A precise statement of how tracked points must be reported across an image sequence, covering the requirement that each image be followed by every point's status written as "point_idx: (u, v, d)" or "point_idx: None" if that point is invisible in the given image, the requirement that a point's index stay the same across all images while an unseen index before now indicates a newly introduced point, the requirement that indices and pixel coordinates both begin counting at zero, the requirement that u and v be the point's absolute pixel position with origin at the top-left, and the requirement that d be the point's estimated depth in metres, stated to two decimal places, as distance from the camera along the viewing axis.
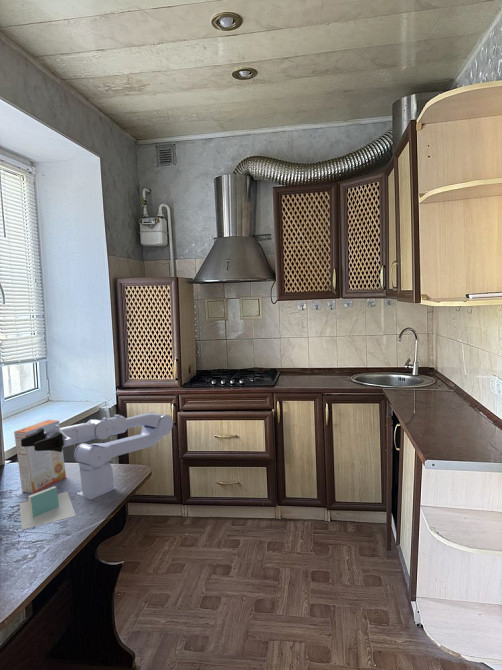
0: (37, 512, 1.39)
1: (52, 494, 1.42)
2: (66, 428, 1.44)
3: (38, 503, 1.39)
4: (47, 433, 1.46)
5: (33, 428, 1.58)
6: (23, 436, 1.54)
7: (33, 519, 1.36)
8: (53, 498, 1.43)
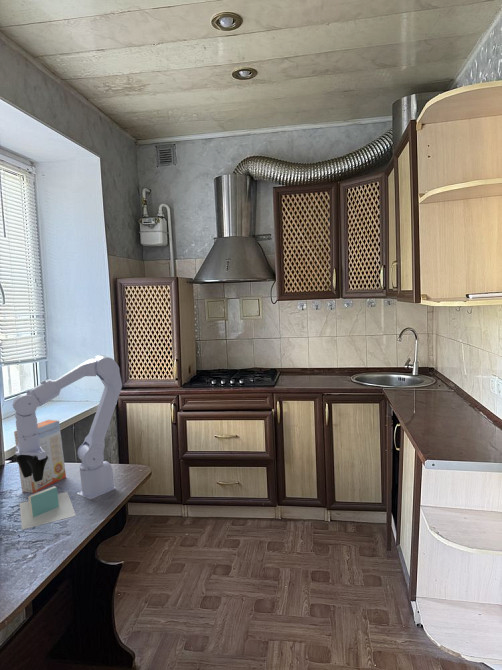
0: (37, 512, 1.39)
1: (52, 494, 1.42)
2: (21, 444, 1.40)
3: (38, 503, 1.39)
4: None
5: None
6: None
7: (33, 519, 1.36)
8: (53, 498, 1.43)
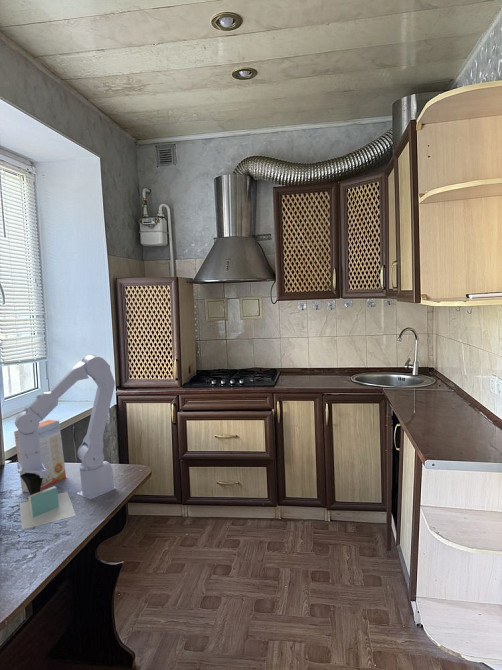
0: (37, 512, 1.39)
1: (52, 494, 1.42)
2: (23, 462, 1.40)
3: (38, 503, 1.39)
4: None
5: None
6: None
7: (33, 519, 1.36)
8: (53, 498, 1.43)
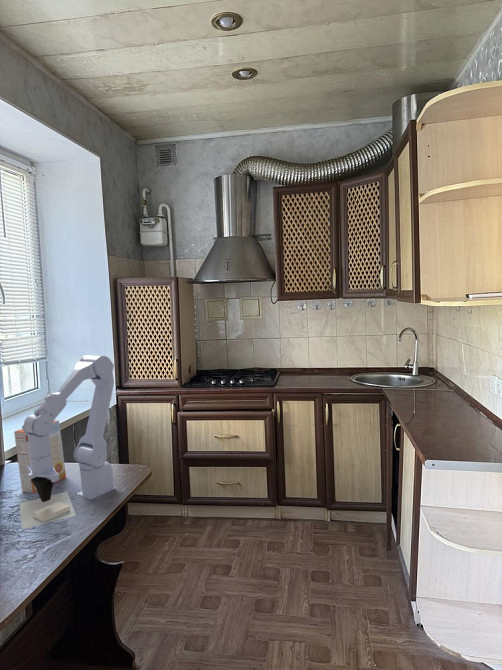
0: None
1: None
2: (34, 466, 1.36)
3: None
4: None
5: None
6: (23, 436, 1.54)
7: (33, 519, 1.36)
8: None
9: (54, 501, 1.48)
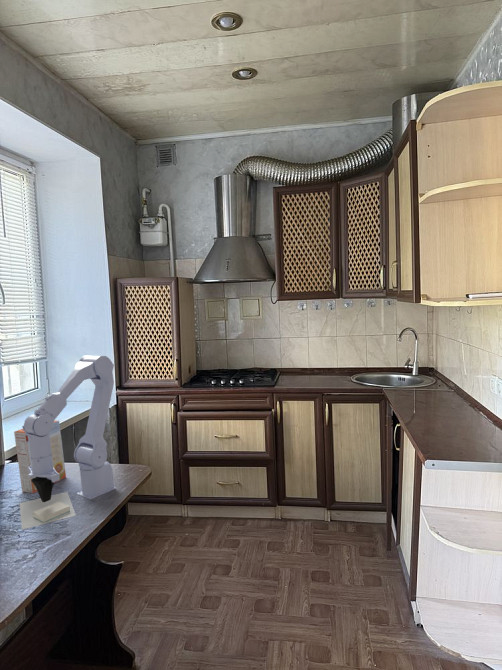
0: None
1: None
2: (34, 466, 1.36)
3: None
4: None
5: None
6: (23, 436, 1.54)
7: (33, 519, 1.36)
8: None
9: (54, 501, 1.48)
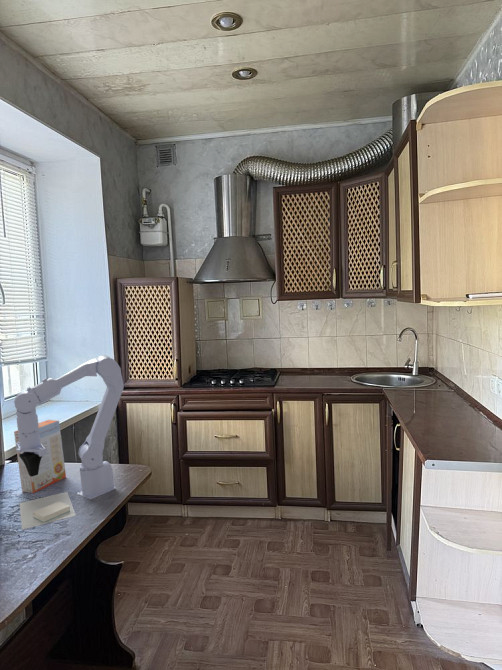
0: None
1: None
2: (22, 441, 1.41)
3: None
4: None
5: None
6: None
7: (33, 519, 1.36)
8: None
9: (54, 501, 1.48)
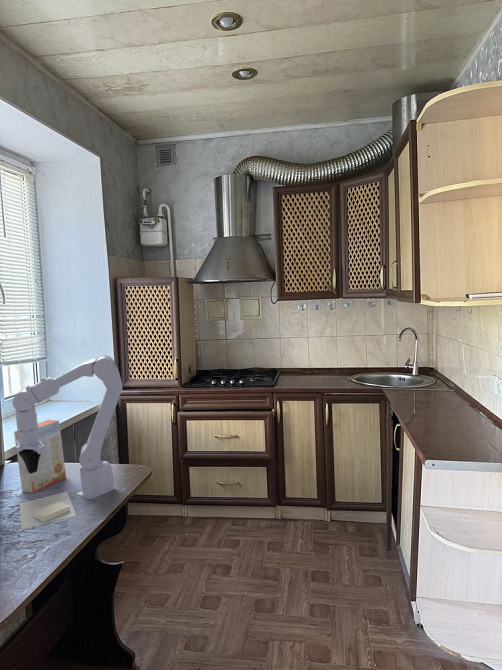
0: None
1: None
2: (21, 439, 1.44)
3: None
4: None
5: None
6: None
7: (33, 519, 1.36)
8: None
9: (54, 501, 1.48)
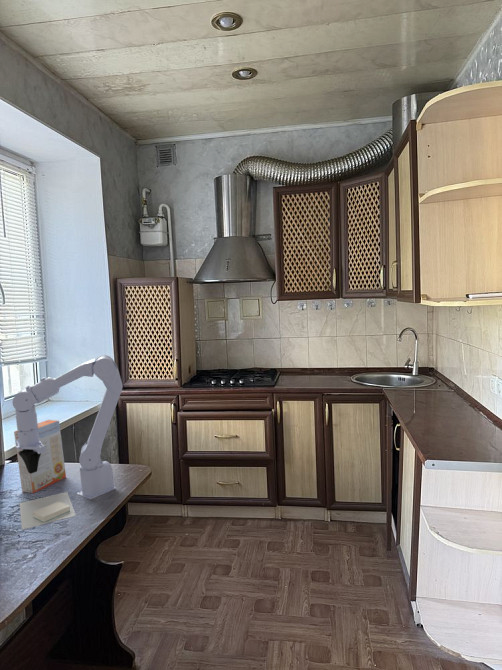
0: None
1: None
2: (21, 439, 1.44)
3: None
4: None
5: None
6: None
7: (33, 519, 1.36)
8: None
9: (54, 501, 1.48)
